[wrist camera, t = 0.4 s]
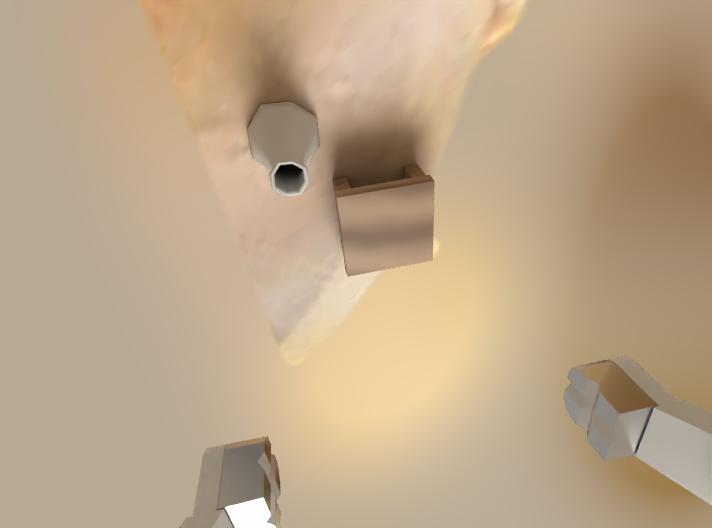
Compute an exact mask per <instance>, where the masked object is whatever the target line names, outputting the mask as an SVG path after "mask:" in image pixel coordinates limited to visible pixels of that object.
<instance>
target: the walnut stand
mask: <svg viewBox="0 0 712 528" xmlns="http://www.w3.org/2000/svg"><path fill="white" fill-rule="evenodd" d="M333 185H334V191H335V197H336V204H337V211H338V219H339V226H340V233H341V242H342V249H343V255H344V262H345V269H346V273H347V276H353V275H358V274H364V273H369V272H374V271H379V270H385V269H390V268H395V267H400V266H405V265H411V264H416V263H421V262H427V261H432V260H433V219H434V180H433V179H432V177H431V176H430V175H425V174H424V173H423V171H422V170H421V169H420V168H419V166H418V165H411V166H405V167H404V179H403V180H397V181H391V182H385V183H379V184H374V185H368V186H362V187H356V188H351V187H350V185H349V182H348V180H347V177H340V178H334V179H333Z"/></svg>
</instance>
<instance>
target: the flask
mask: <svg viewBox="0 0 712 528" xmlns="http://www.w3.org/2000/svg"><path fill="white" fill-rule="evenodd" d="M247 133H248V138H249V143H250V148H251V153H252V158H253V159H254V160H255V161H257V162H259V163H261V164H262V165H264V166H265V167H266V168H268V169H269V170H270V171H271V172H270V174H269V175H270V180H271V186H272V190H274V191H276V192H278V193H280V194H282V195H284V196H292V195H300V194H302V192H303V191H304V189H305V187H306V186H307V184H308V183H309V180H308V171H307V165H308V164H309V162H310V160H311V159H312V157H313V156H314V154H315V152H316V151H317V149H318V147H319V146H320V145H319V135H318V124H317V117H316V116H314V115H312V114H311V113H309V112H307V111H306V110H304V109H303V108H301V107H299V106H298V105H296V104H294V103H293V102H291V101H290V102H279V103H269V104H260V106H259V108H258V110H257V112H256V114H255V116H254V118H253V120H252V122H251V124H250V126H249V127H248V129H247Z"/></svg>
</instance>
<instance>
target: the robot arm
mask: <svg viewBox="0 0 712 528" xmlns="http://www.w3.org/2000/svg"><path fill="white" fill-rule="evenodd" d="M568 379H569V380H570V381H571V384H570V385H569V386H568V387H567V388H566V389H565V393H564V401H565V406H566V409H567V411H568V413H569V415H570V417H571V418H572V420H573V421H574V422H575V424H576V425H578V426H580V427H582V428H584V429H586V430H587V439H588V441H589V442H590V443H591V445H592V446H593V447H594V448H595V450H596V451H597V452H598V454H599V455H600V456H601V458H602V459H603V460H604V461H608V460H613V459H617V458H622V457H627V456H631V455H636V457H637V458H639V459H640V460H642V461H644V462H645V463H647V464H648V465H650V466H651V467H653V468H654V469H656V470H658V471H659V472H661V473H662V474H664V475H665V476H667V477H668V478H670V479H672V480H673V481H675V482H676V483H678V484H679V485H681V486H683V487H684V488H686V489H687V490H689V491H690V492H692V493H694V494H695V495H696V496H698V497H700V498H701V499H703V500H704V501H706V502H707V503H709V504H710V505H712V412H711V411H709V410H706V409H704V408H702V407H699V406H697V405H694V404H692V403H689V402H687V401H685V400H683V401H678V400H677V399H676V398H675V397H674V396H673V395H671V394H670V393H669V392H668V391H667V390H666V389H665V388H664V387H663V386H662V385H661V384H659V383H658V382H657V381H656V380H655V379H654V378H653V377H652V376H651V375H650V374H649V373H647V372H646V371H645V370H644V369H643V368H642V367H641V366H640V365H639V364H638V363H636V362H635V361H634V360H633V359H632V358H630V357H628V356H621V357H617V358H613V359H608V360H602V361H598V362H594V363H589V364H585V365H581V366H577V367H573V368H572V369H571V370H570V371H569V374H568ZM279 496H280V477H279V469H278V465H277V460H276V458H275V455H273V454H271V443H270V441H269V438H268V436H267V437H262V438H257V439H251V440H247V441H241V442H236V443H231V444H226V445H221V446H217V447H212V448H207V449H206V450H205V452H204V455H203V458H202V464H201V470H200V476H199V482H198V488H197V494H196V499H195V506H194V511H193V516H191V517H187V518H186V519H185V520H184V522H183V523H182V525H181V526H180V527H179V528H281V513H280V509H279V507H278V504H277V499H278V497H279Z"/></svg>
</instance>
